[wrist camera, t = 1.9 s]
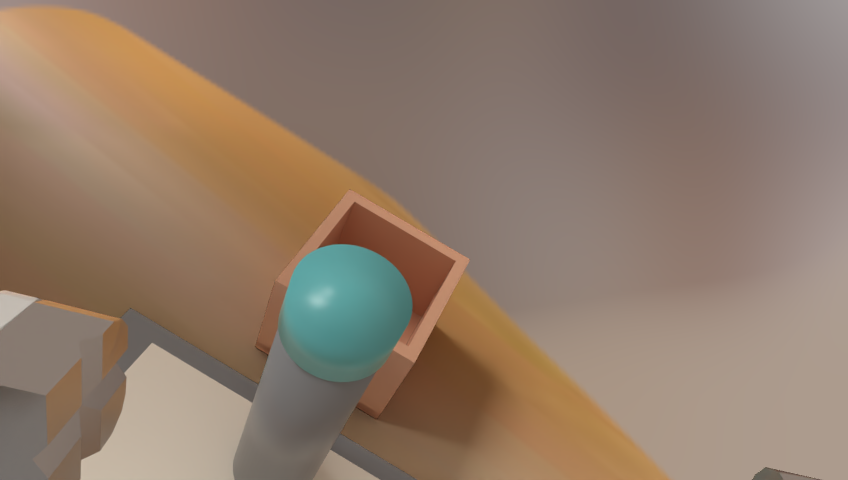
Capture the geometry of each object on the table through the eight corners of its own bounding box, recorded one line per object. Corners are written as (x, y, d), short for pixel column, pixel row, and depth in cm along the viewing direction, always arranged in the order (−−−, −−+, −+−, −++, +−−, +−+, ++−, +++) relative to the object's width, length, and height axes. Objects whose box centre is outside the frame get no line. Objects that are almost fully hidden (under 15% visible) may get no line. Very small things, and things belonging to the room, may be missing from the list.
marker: (234, 515, 29) (299, 354, 19) (226, 430, 31) (282, 243, 21) (321, 502, 31) (425, 346, 20) (309, 421, 33) (397, 244, 23)
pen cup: (254, 346, 35) (275, 280, 31) (324, 257, 40) (349, 189, 36) (377, 419, 35) (414, 363, 30) (430, 320, 40) (470, 259, 35)
